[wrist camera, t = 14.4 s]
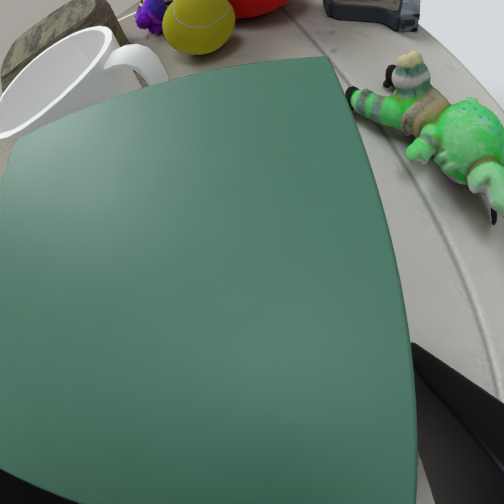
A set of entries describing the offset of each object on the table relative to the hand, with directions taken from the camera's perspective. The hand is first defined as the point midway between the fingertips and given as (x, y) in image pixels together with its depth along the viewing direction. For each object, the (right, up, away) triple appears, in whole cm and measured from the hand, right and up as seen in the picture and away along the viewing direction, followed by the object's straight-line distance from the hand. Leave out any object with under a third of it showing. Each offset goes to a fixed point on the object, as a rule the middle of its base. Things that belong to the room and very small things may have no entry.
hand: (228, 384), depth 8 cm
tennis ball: (-6, +22, +15) cm, 28 cm away
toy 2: (+10, +17, +13) cm, 24 cm away
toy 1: (-9, +41, +20) cm, 46 cm away
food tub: (+1, -1, +8) cm, 8 cm away
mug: (-9, +11, +16) cm, 21 cm away
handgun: (+10, +37, +21) cm, 43 cm away
